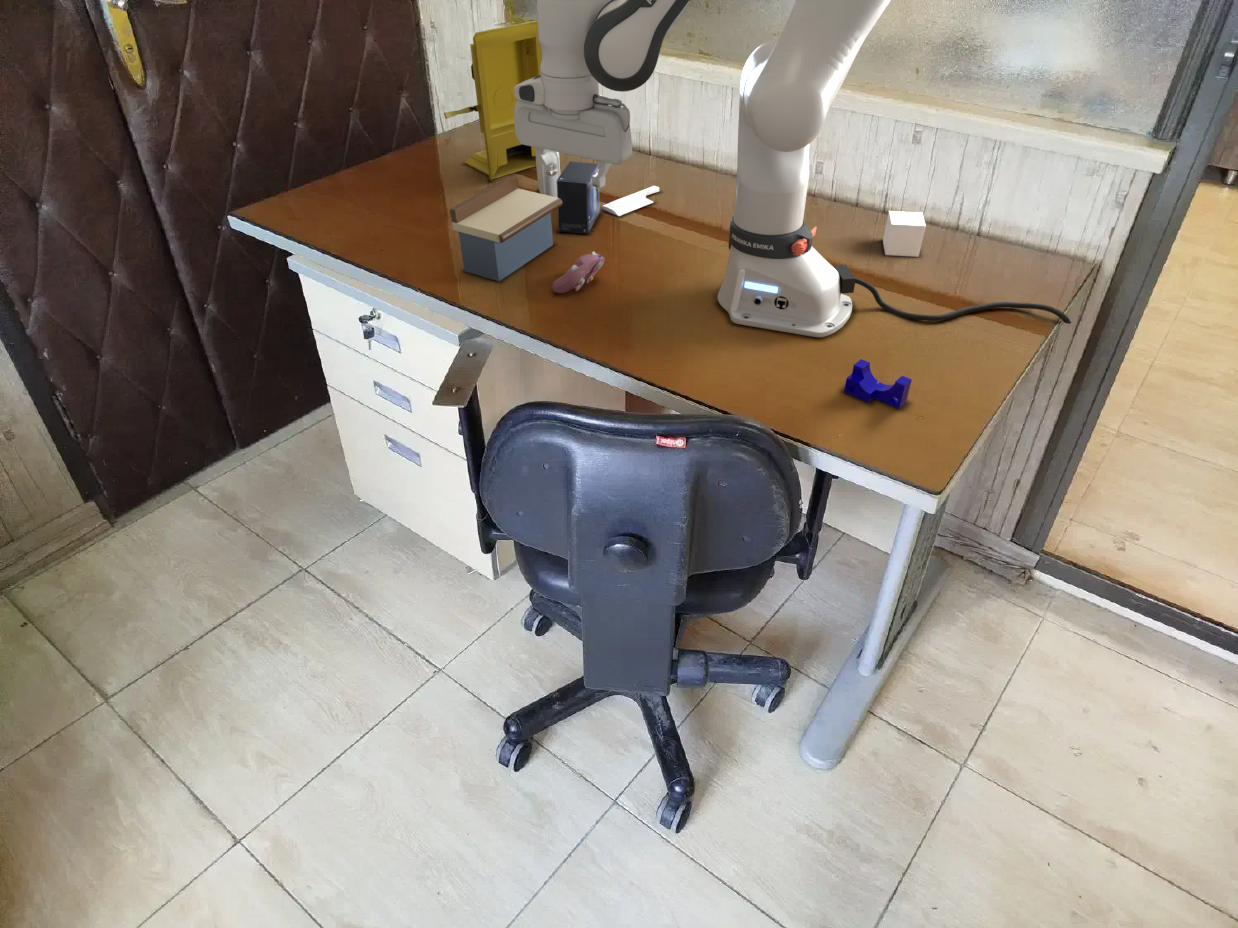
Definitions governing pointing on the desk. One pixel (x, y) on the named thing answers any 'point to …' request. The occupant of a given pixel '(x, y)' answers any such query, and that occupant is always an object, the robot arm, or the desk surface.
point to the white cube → (904, 233)
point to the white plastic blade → (630, 202)
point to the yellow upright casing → (502, 95)
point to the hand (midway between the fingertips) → (574, 180)
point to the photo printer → (545, 182)
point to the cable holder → (876, 386)
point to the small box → (578, 198)
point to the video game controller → (579, 273)
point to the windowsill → (503, 228)
